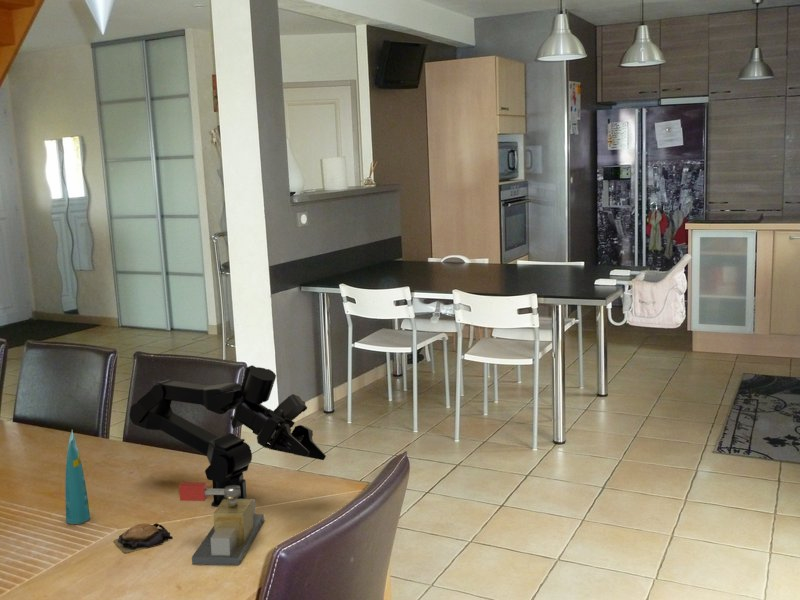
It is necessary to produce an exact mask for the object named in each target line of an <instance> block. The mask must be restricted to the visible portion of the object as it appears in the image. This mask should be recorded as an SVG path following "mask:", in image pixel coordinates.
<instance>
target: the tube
mask: <svg viewBox="0 0 800 600" xmlns="http://www.w3.org/2000/svg"><path fill="white" fill-rule="evenodd" d="M67 447H68V448H67V452H66V460H65V461H66V463H65V484H64V485H65V488H64V489H65V490H64V491H65V493H64V494H65V497H64V498H65V522H66V523H67V524H69V525H80V524H83V523H86V522H88V521H89V520H90V519H91V514H90V513H91V511H90V506H89V498H88V491H87V484H86V479H85V474H84V473H85V472H84V467H83V464H82V459H81V456H80V455H81V454H80V452H79V451H80V450H79V448H78V445H77V441H76V438H75V435H74V432H73V429H71V433H70V435H69V440H68V446H67Z"/></svg>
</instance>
